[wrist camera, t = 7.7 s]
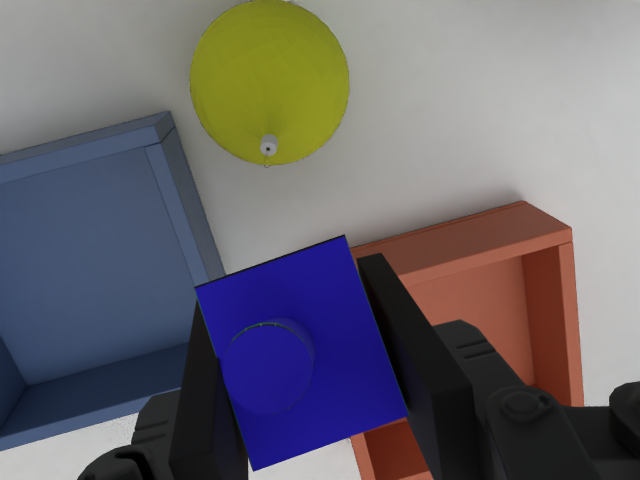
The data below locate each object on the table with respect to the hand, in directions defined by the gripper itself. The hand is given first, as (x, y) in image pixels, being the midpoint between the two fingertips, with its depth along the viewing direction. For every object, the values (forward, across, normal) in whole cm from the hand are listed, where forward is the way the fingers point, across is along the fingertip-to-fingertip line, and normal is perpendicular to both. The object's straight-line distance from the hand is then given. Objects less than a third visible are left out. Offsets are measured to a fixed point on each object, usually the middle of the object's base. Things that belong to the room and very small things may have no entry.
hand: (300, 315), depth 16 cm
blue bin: (+15, +11, +2) cm, 18 cm away
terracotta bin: (+15, -8, +11) cm, 20 cm away
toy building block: (+1, 0, 0) cm, 1 cm away
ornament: (+15, -1, -6) cm, 16 cm away
